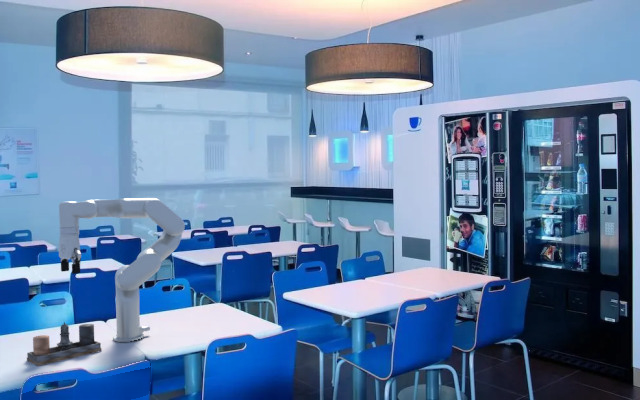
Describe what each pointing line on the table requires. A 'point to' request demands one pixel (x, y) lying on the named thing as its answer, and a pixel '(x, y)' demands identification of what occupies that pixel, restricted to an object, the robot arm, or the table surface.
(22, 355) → the table surface
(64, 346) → the salt shaker
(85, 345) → the condiment rail
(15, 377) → the table surface
